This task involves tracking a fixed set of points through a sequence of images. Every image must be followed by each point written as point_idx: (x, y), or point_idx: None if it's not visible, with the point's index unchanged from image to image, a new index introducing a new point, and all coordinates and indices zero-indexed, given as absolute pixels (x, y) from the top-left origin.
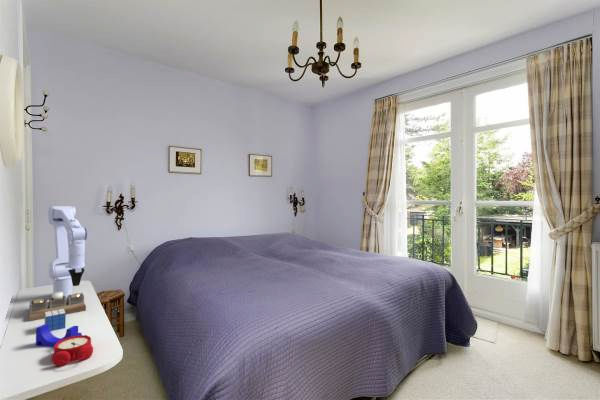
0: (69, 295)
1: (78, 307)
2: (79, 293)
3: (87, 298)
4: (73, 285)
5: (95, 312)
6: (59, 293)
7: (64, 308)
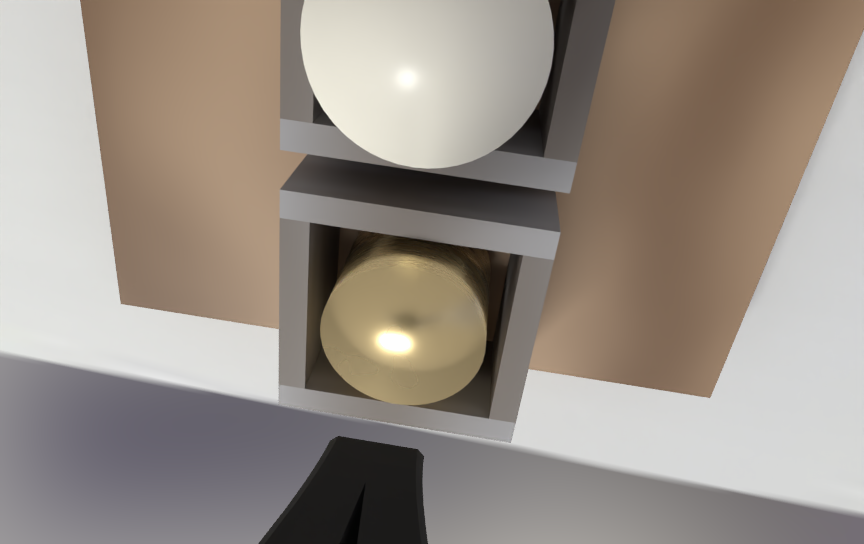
0: (525, 254)
1: (111, 216)
2: (421, 396)
3: (725, 432)
4: (326, 451)
5: (13, 318)
6: (307, 62)
7: (160, 42)
